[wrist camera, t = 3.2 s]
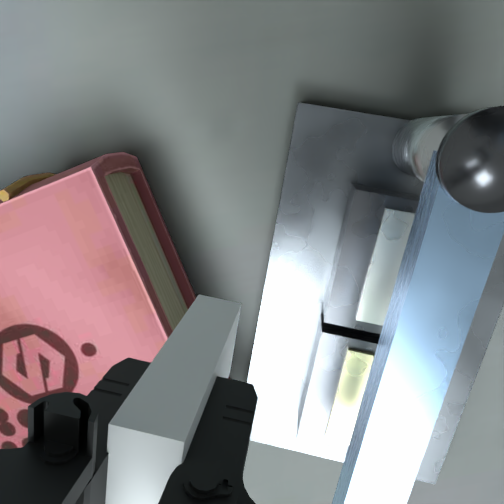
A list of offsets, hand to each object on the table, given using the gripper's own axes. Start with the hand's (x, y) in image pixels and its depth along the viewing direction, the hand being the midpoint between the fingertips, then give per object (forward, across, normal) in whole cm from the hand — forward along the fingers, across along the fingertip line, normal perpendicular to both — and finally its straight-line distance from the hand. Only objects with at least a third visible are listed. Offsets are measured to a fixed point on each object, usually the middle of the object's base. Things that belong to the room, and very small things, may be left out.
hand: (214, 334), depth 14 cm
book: (+8, -9, -5) cm, 13 cm away
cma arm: (+1, +7, 0) cm, 7 cm away
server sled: (+8, +7, -1) cm, 10 cm away
